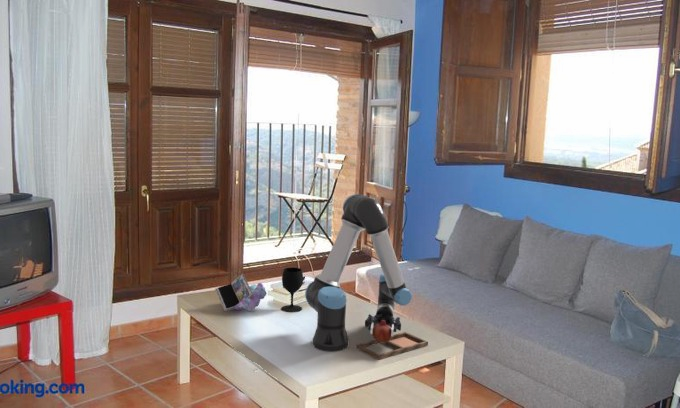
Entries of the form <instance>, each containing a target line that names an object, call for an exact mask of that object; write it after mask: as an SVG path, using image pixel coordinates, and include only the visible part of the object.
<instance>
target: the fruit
mask: <svg viewBox="0 0 680 408" xmlns="http://www.w3.org/2000/svg"><path fill="white" fill-rule="evenodd" d="M391 330H392V328H391V327H390V326H388V325H386V322H385V320H381V321H380V324H377V325H375V326H374V327H373V333H372V334H371V335H372V337H373V338H374V339H373V340H376V341H378V342H380V343H379V344H384V343H385V342H387V341H389V340H390V338H391ZM390 341H391V340H390Z"/></svg>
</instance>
